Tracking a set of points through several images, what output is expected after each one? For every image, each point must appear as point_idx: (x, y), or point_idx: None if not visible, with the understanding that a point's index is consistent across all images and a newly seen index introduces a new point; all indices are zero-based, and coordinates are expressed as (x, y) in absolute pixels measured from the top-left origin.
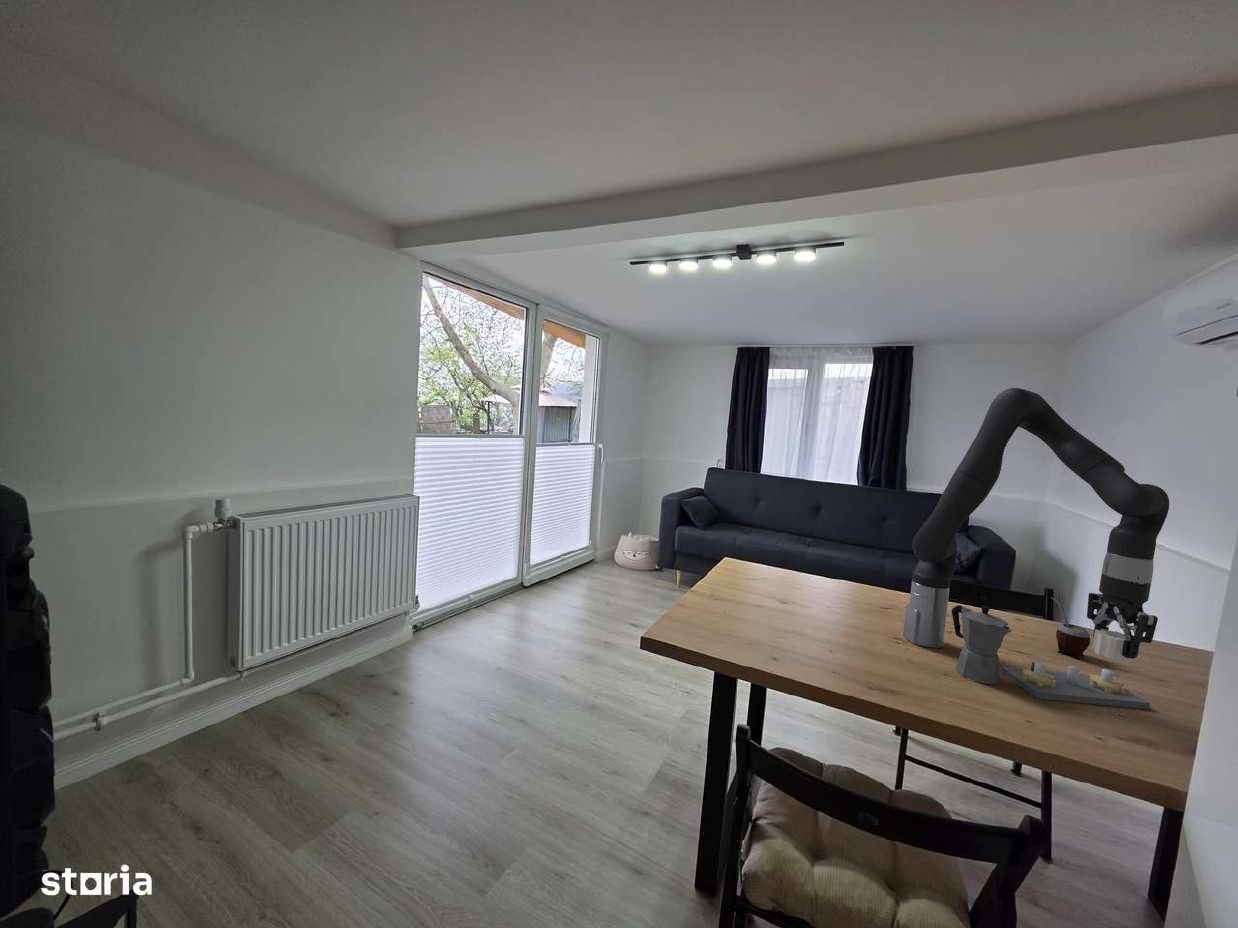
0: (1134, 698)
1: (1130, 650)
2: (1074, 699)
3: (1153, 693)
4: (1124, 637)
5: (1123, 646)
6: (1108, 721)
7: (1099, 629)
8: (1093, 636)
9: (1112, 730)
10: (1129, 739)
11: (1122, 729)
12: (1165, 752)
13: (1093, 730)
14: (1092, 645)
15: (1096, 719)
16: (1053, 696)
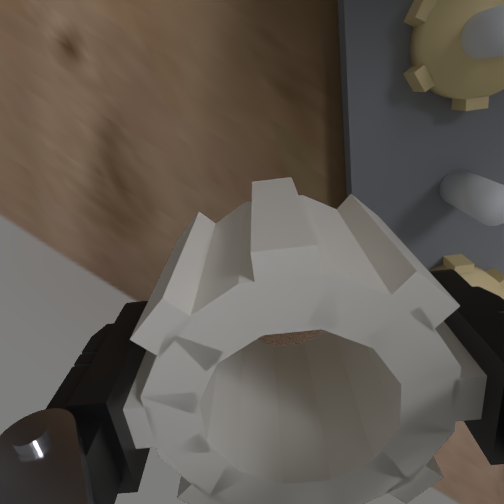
0: None
1: (79, 358)
2: (346, 131)
3: (459, 425)
4: (310, 466)
5: (126, 345)
6: (223, 170)
7: (483, 358)
8: (486, 290)
9: (158, 142)
10: (115, 163)
11: (180, 184)
12: (78, 227)
13: (126, 64)
14: (358, 203)
15: (223, 133)
16: (341, 40)
